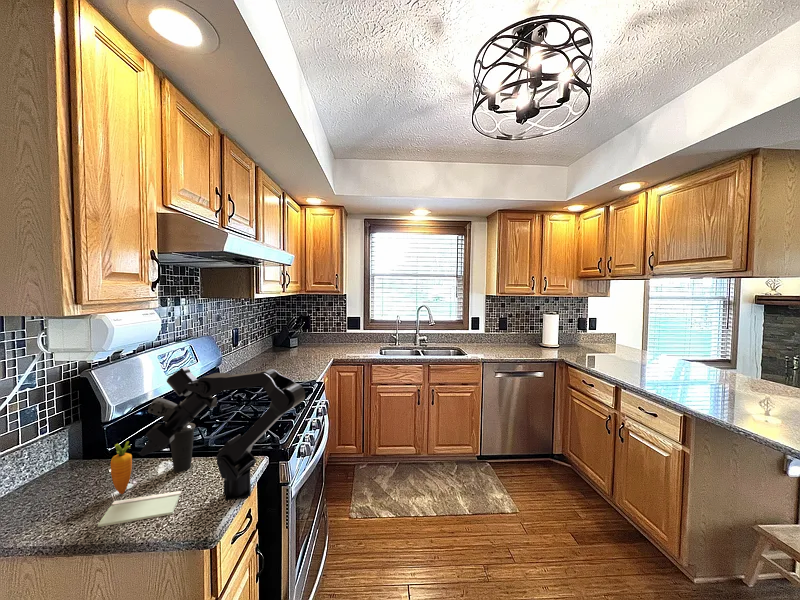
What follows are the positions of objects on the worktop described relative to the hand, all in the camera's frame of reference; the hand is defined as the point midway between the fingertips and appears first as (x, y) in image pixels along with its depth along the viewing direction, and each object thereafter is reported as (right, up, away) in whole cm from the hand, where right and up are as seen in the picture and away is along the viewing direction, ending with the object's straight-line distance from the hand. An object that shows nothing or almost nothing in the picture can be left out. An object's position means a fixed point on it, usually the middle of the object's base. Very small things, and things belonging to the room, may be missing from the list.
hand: (148, 447), depth 106 cm
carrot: (-7, -13, -1) cm, 15 cm away
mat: (+4, -13, -9) cm, 16 cm away
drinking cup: (+2, -12, +14) cm, 19 cm away
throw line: (+2, -13, -3) cm, 13 cm away
